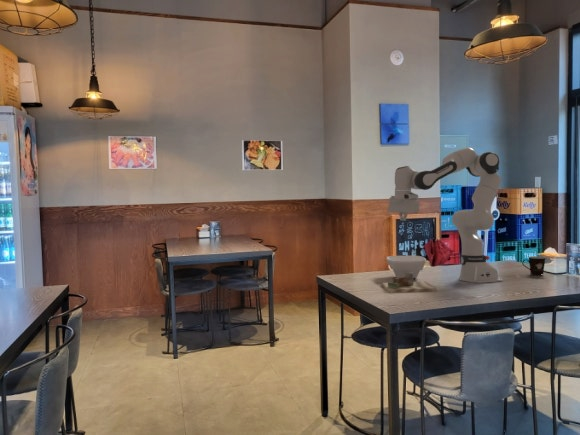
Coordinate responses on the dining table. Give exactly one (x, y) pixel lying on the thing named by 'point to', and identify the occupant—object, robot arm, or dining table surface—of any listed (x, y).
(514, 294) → the dining table surface
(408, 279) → the tuning peg
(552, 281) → the dining table surface
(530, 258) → the coffee mug
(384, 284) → the tuner board
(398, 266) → the bowl
